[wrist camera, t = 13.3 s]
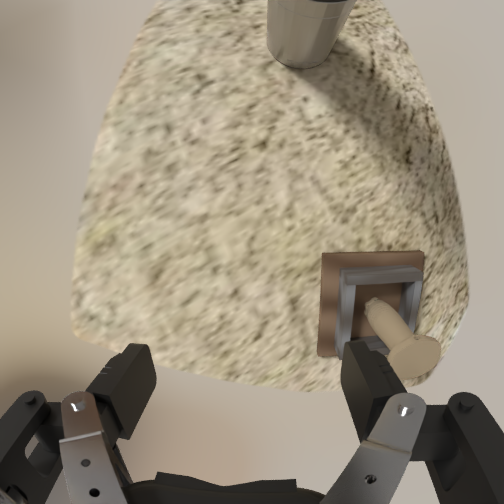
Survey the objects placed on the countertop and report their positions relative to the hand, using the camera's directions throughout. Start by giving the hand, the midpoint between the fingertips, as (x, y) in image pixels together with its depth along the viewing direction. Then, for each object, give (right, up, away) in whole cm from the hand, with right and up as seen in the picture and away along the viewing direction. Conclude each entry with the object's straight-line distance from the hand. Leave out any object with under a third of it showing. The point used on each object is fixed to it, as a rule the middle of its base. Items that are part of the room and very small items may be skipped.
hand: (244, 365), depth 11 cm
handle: (+18, -3, +29) cm, 34 cm away
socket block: (+18, -3, +30) cm, 36 cm away
